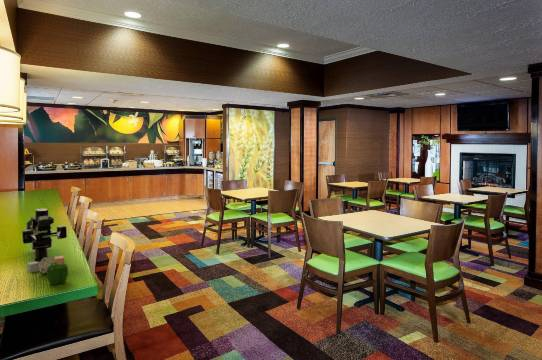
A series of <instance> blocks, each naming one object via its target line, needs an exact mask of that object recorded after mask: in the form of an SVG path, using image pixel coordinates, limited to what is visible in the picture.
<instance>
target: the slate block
mask: <svg viewBox="0 0 542 360" xmlns="http://www.w3.org/2000/svg"><path fill="white" fill-rule="evenodd" d="M39 262H40V261H31V262H27V263H26V265H27V266H26V267H27V272H28V273H35V272H41V271H40V269H39V268H38V266H37V265H36V264H38V263H39Z"/></svg>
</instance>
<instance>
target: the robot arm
mask: <svg viewBox="0 0 542 360" xmlns="http://www.w3.org/2000/svg"><path fill="white" fill-rule="evenodd" d="M34 212H35V213H34V214H35V216H31V217H30V219H29V220H28V221H27V222H26V229H25V230H24V229H23V230H22V232H21V234H22V239H21V240H22V243H23V244H24V245H25V244H31V245H30V247H31V250H32V251H34V257H33V260H34V261H33V262H35V261H37V262H40V261H41V260H42V259H43V256H44V258H50V257H49V255H48V249H51V248H52V246H53V245H52V242H53V239H52V237H57V240H62V239H66V238H67V237H68V234H67V231H68V230H67V226H66V225H56V230H53V231H52V226H51V225H52V224H54V223H55V219H54V216H51V215H49V209H48V208H43V207H41V208H36V209H35V211H34Z"/></svg>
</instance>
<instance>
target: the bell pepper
mask: <svg viewBox="0 0 542 360" xmlns="http://www.w3.org/2000/svg"><path fill="white" fill-rule="evenodd" d="M51 264H52V265H50V266H49V267H48V269H47V273H46V276H47V280H48V282H49V284H50V285H52V286H55V285H59V284H64V283H65V282H66V281H67V277H68V274H69V268H68V265H67V264H66V263H64V264H63V265H61V264H57V262H52V263H51ZM53 264H55V265H53Z"/></svg>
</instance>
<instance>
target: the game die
mask: <svg viewBox="0 0 542 360" xmlns="http://www.w3.org/2000/svg"><path fill="white" fill-rule="evenodd" d="M52 257H53V258H52ZM52 257H49V258H44V256H43V259H42V260H41V261H38V262H39V263H38V264H36V265H37V266H38V268H39V269H40V271H39V272H40V274H39V275H42V274H47V269H48V267H49V266H50V265H52V264H51V263H52V262H55V260H54V257H55V256H52ZM53 265H55V264H53Z"/></svg>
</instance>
